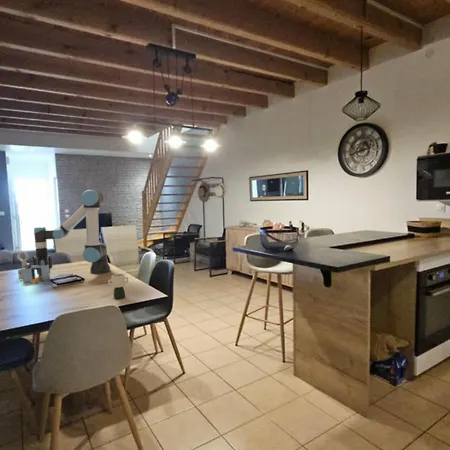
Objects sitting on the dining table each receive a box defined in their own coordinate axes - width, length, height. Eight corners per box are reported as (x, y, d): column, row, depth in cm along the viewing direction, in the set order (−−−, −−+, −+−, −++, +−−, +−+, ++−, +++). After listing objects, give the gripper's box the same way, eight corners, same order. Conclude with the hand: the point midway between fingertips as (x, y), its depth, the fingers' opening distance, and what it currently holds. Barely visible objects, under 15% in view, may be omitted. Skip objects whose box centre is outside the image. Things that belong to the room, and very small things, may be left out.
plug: (37, 283, 229) (36, 270, 228) (30, 283, 229) (29, 271, 228) (49, 277, 246) (48, 265, 245) (42, 277, 246) (41, 266, 245)
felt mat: (72, 274, 254) (72, 273, 254) (64, 278, 239) (64, 278, 239) (59, 274, 253) (59, 274, 253) (50, 279, 239) (50, 279, 238)
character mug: (127, 294, 189) (126, 272, 188) (130, 297, 183) (129, 274, 182) (108, 298, 183) (106, 275, 182) (111, 301, 177) (109, 277, 176)
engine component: (27, 278, 246) (36, 275, 256) (25, 251, 245) (34, 249, 255) (14, 278, 248) (23, 275, 257) (11, 252, 246) (21, 250, 256)
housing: (50, 279, 238) (48, 262, 237) (47, 281, 234) (45, 263, 233) (26, 281, 237) (24, 263, 236) (23, 282, 233) (21, 264, 232)
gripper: (56, 246, 246) (58, 276, 247) (31, 247, 245) (34, 277, 247) (51, 247, 238) (53, 278, 240) (26, 248, 237) (29, 280, 239)
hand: (44, 278), depth 243 cm, fingers closed on plug, 5 cm apart
